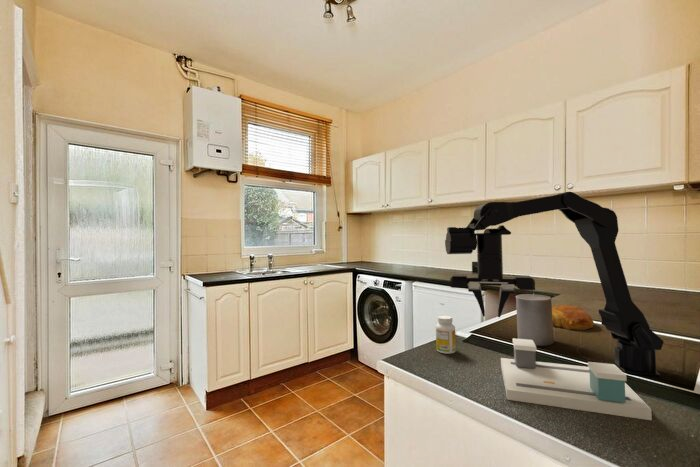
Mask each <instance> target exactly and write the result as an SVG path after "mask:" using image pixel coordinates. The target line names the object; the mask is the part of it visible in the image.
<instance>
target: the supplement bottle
mask: <svg viewBox="0 0 700 467" xmlns="http://www.w3.org/2000/svg"><path fill="white" fill-rule="evenodd" d="M437 322H438V323H437V324H436V326H435V339H436V340H435V341H436V343H435V345H436V348H435V349H436V351H437V352H439V353H441V354H445V355H448V354H455V352H456V350H457V348H456V347H457V346H456V345H457V344H456V342H457V340H456V327H455V326H456V325H454V324H453V317H452V316H449V315H439V316H438V317H437Z"/></svg>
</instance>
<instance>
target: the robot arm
mask: <svg viewBox="0 0 700 467" xmlns="http://www.w3.org/2000/svg"><path fill="white" fill-rule="evenodd" d="M557 210H558V211H559V212H561V213H562V215H563V216H565V218H566V219H568V220H569V221H571V222H572V223H574V226H575V227H576V229H577V232H578V233H579V235H580V237H581V238H582V239H583V240H584V241H585V243H586V244H587V245H588V246H589V247H590V250H591V254H592V258H593V261H594V264H595V267H596V272H597V274H598V278H599V281H600V284H601V287H602V291H603V294H604V295H603V296H604V298H605V306H604V308H602V309H600V308H599V309H598V314H599V316H600V319H601V325H602V326H604V327H605V329H606V330H607V331H609V332H610V335H611V337H612V339H614V340H616V346H615V347H614V359H615V360H614V362H615V365H616V366H617V367H618V368H619V369H620V370H621V371H622V372H623V373H626V374H634V375H643V376H654V377H661V375H660V374H661V373H659V372H658V371H657V361H656V357H657V356H656V351H660V350H662V349H663V344H664V340H663V339H662V338H661V337H659V336H658V335H657V334H656V333H655V332H654V330H652V329H651V326H650V324H649V322H648V320H647V318H646V316H645V314H644V312H643V311H642V310H641V309H640V308H639V306H637V305H636V304H635V302H634V301H633V299H632V295H631V293H630V289H629V285H628V283H627V279H626V276H625V272H624V269H623V266H622V263H621V260H620V256H619V251H618V249H617V245H616V239H617V237H618V233H619V232H620V231H619V222H618V216H617V214H616V211H614V210H613V209H611V208H609V207H603V206H602V205H600V204H598V203H596V202H594V201H591V200H588V199H586V198H584V197H583V196H582V197H581V196H580V195H579V194H578V193H575V192H573V191H566V192H565V191H564V192H561V193H560V192H559V193H557V194H554V195H548V196H544V197H543V196H542V197H538V198H531V199H526V200H520V201H490V202H486V203H483V204H481V205H480V204H479V205H478V206H476V208H475V209H474V212H473V217H472V219H471V221H470V222H469V223H468V224H467V226H466V227H456V226H448V227H447V230H446V232H447V233H446V235H445V240H444V246H445V252H446V254H447V255H471V254H472V253H473V251H475V250H476V254H477V255H476V256H477V261H471V274H472V275H477V277H468V274H464V273H463V274H461V273H460V274H459V273H455V274H454V273H453V274H452V275H451V276H450V279H449V280H450V281H449V283H450V285H449V286H450V288H454V289H456V288H457V289H464V288H465V287H466V286H467V288H468V289H467V291H468V292H470V293H473V295H474V298H475V299H476V301H477V304H478V306H479V308H480V311H481V314H482V317H485V316H486V310H485V304H484V298H483V292H482V286H500V287H499V294H498V305H497V318H501V316H502V314H503V310H504V307H505V304H506V302H507V300H508V298H510V297H509V296H510V295H511V294H515V293H516V290H515V289H514V288H515V287H517V289H519V290H520V291H536V283H535V281H536V280H535V279H534V278H532V277H531V276H530V275H526V274H525V275H518V274H517V275H513V278H509V277H508V278H507V277H506V278H505V277H504V270H503V266H504V265H503V264H504V263H503V237H502V236H506V235H507V236H508V235H511V234H512V232H511V231H510V230H509V229H507V228H506V227H505V225H503V224H504V223H507V222H508V221H511V220H513V219H517V218H519V217H523V216H528V215H529V216H530V215H534V214H539V213H544V212H545V213H546V212H550V211H552V212H553V211H557ZM498 225H499V226H498ZM493 226H498V227H496V228H488V227H493ZM483 230H484V231H483ZM476 231H483V232H480V233H476Z"/></svg>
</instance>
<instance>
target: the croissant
mask: <svg viewBox="0 0 700 467" xmlns="http://www.w3.org/2000/svg"><path fill="white" fill-rule="evenodd" d="M552 320H553V327H557V328H562V329H565V330H577V331H578V330H579V331H581V330H588V329H591V328H594V326H595V322H594V320H593V318H592V316H591V315H590V314H589V313H587V312H586V310H584V309H583V308H582V307H578V306H575V305H571V304H561V305H552Z"/></svg>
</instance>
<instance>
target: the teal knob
mask: <svg viewBox="0 0 700 467" xmlns="http://www.w3.org/2000/svg"><path fill="white" fill-rule="evenodd" d="M587 367H589V370H590V388H591V389H592V391H593V392H594V393H595V395H596V396H597V397H598V399H602V400H609V401H617V402H624V403H625V383H626V382H627V375H626V374H625V372H624V371H623V370H622V369H621V368H620V367H619V366H618V365H617V364H616V363H615V364H614V363H606V362H604V363H603V362H595V361H593V362H592V361H587Z"/></svg>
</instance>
